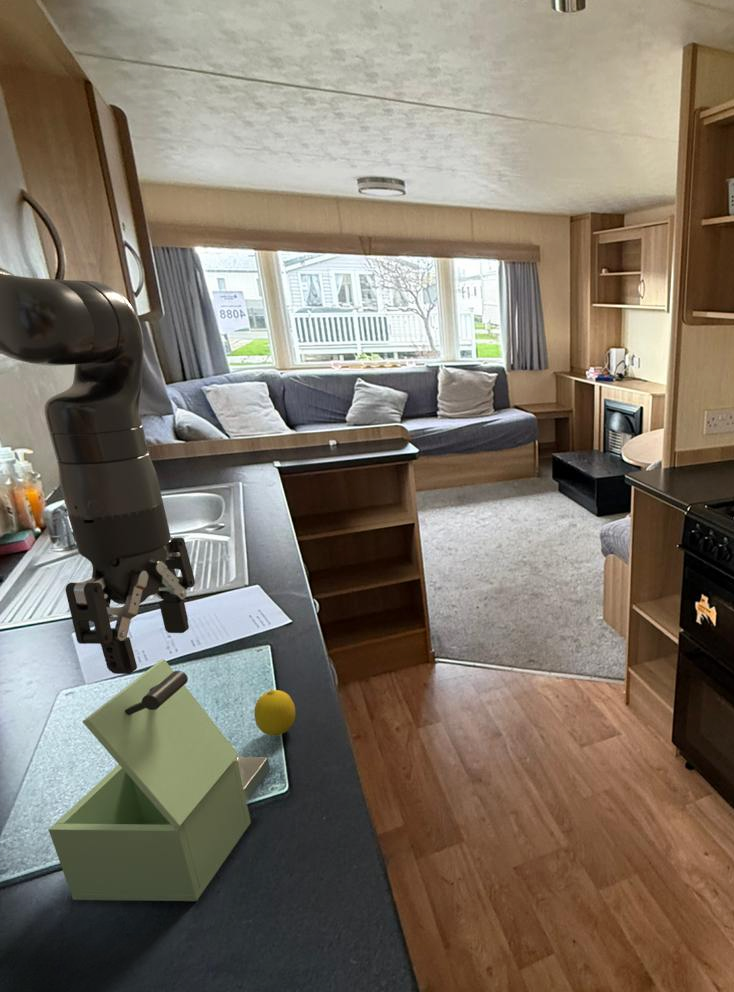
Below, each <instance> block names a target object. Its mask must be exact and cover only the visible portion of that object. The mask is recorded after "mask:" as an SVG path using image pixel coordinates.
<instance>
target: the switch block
mask: <svg viewBox="0 0 734 992" xmlns="http://www.w3.org/2000/svg"><path fill="white" fill-rule="evenodd" d="M235 759H237V761H238V766H239V770H240V775H241V780H242V784H243V789H244V793H245V798H246V802H247V803H248V801H249V800H250V799H251V797H252V796H253V794H254V793H255V792H256V791H257V790H258V787H259V786H260V785H261V784H262V782H263V781H264V780H265V778H266V777H267V775H268V774H269V773H270V771H271V767H270V762H269V757H266V756H265V757H261V756H255V757H253V756H251V757H250V756H239V755H238V756H237V757H236V758H235Z"/></svg>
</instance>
